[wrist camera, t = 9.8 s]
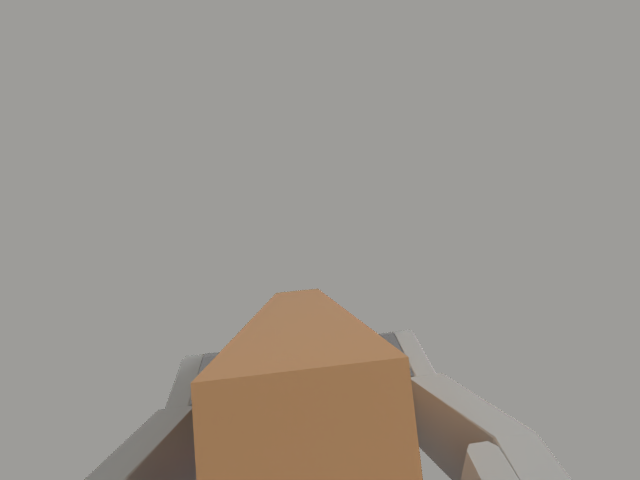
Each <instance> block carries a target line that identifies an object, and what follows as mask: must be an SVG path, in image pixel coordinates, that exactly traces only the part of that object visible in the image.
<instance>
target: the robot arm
mask: <svg viewBox="0 0 640 480" xmlns="http://www.w3.org/2000/svg"><path fill="white" fill-rule="evenodd" d="M379 335H380V336H381V337H383V338H384V339H385V340H387V341H388V342H389V343H391V344H392V345H393V346H395V347H396V348H397V349H399V350H400V351H401V352H403V353H404V354H405V355H407V356H408V357H409V366H410V374H411V383H412V392H413V400H414V409H415V417H416V426H417V434H418V443H419V447H420V448H421V449H422V450H423V451H424V452H425V453H426V454H427V455H428V456H429V457H430V458H431V459H432V460H433V461H434V462H435V463H436V464H437V465H438V466H439V467H440V468H441V469H442V470H443V471H444V472H445V473H446V474H447V475H448V476H449V477H450V478H451V479H452V480H572V479H571V478H570V477H569V475H568V474H567V473H566V471H565V470H564V469H563V467H562V466H561V465H560V463H559V462H558V461H557V459H556V458H555V457H554V455H553V454H552V453H551V451H550V450H549V449H548V447H547V446H546V445H545V443H544V442H543V440H542V439H541V438H540V436H539V435H538V434H537V433H536V432H535V431H533V430H532V429H530V428H528V427H527V426H525V425H524V424H522V423H521V422H519V421H517V420H516V419H514V418H513V417H511V416H509V415H508V414H506V413H505V412H503V411H502V410H500V409H498V408H497V407H495V406H494V405H492V404H490V403H489V402H487V401H486V400H484V399H482V398H481V397H479V396H477V395H476V394H474V393H473V392H471V391H470V390H468V389H467V388H465V387H463V386H461V385H460V384H459V383H457V382H455V381H454V380H452V379H451V378H449V377H447V376H446V375H444V374H443V373H439V374H436V372H435V370H434V369H433V367H432V365H431V363H430V361H429V360H428V358H427V356H426V354H425V353H424V351H423V349H422V347H421V345H420V344H419V342H418V340H417V338H416V336H415V335H414V333H413V332H412V331H411V330H403V331H395V332H392V333H391V332H390V333H382V334H379ZM219 353H220V352H219ZM219 353H208V354H203V355H191V356H185V358H184V359H183V360H182V362H181V364H180V367H179V370H178V373H177V376H176V379H175V381H174V384H173V387H172V390H171V393H170V396H169V398H168V401H167V404H166V407H165V409H162V410H158V411H157V412H156V413H155V414H154V415H152V416H151V417H150V418H149V419H148V420H147V421H146V422H145V423H144V424H143V425H142V426H141V427H140V428H139V429H138V430H137V431H136V432H134V433H133V434H132V435H131V436H130V437H129V438H128V439H127V440H126V441H125V442H124V443H123V444H122V445H121V446H119V448H117V450H115V451H114V452H113V453H112V454H111V455H110V456H109V457H108V458H107V459H106V460H105V461H104V462H103V463H101V464H100V465H99V466H98V467H97V468H96V469H95V470H94V471H93V472H92V473H91V474H90V475H89V476H88V477H86V478H85V479H84V480H196V465H195V449H194V432H193V416H192V400H191V382H192V381H193V380H194V379H195V378H196V377H197V376H198V375H199V374H200V373H201V372H202V370H203V369H204V368H205V367H206V366H207V365H208V364H209V363H210V362H211V361H212V360H213V359H214V358H215V357H216V356H217V355H218V354H219Z"/></svg>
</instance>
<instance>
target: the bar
mask: <svg viewBox="0 0 640 480" xmlns="http://www.w3.org/2000/svg"><path fill="white" fill-rule="evenodd" d="M191 400H192V416H193V432H194V449H195V465H196V480H423V478H422V469H421V460H420V452H419V443H418V434H417V426H416V417H415V409H414V400H413V392H412V383H411V374H410V366H409V357H408V356H407V355H405V354H404V353H403V352H401V351H400V350H399V349H397V348H396V347H395V346H393V345H392V344H391V343H389V342H388V341H387V340H385V339H384V338H383V337H381V336H380V335H379V334H377V333H375V331H373V330H372V329H371V328H369V327H368V326H366V325H365V324H364V323H363V322H361V321H360V320H359V319H357V318H356V317H355V316H353V315H352V314H351V313H349V312H348V311H347V310H345V309H344V308H343V307H341V306H340V305H339V304H337V303H336V302H335V301H333V300H332V299H331V298H329V297H328V296H327V295H325V294H324V293H323V292H321V291H320V290H319V289H311V290H302V291H291V292H281V293H276V294H275V295H274V296H273V297H272V298H271V299H270V300H269V301H268V302H267V303H266V304H265V305H264V306H263V308H262V309H261V310H260V311H259V312H258V313H257V314H256V315H255V316H254V317H253V318H252V319H251V320H250V321H249V322H248V323H247V324H246V325H245V326H244V328H242V330H241V331H240V332H239V333H238V334H237V335H236V336H235V337H234V338H233V339H232V340H231V341H230V342H229V343H228V344H227V345H226V346H225V347H224V348H223V349H222V351H221V352H220V353H219V354H218V355H217V356H216V357H215V358H214V359H213V360H212V361H211V362H210V363H209V364H208V365H207V366H206V367H205V368H204V369H203V370H202V372H201V373H200V374H199V375H198V376H197V377H196V378H195V379H194V380H193V381H192V382H191Z"/></svg>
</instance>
